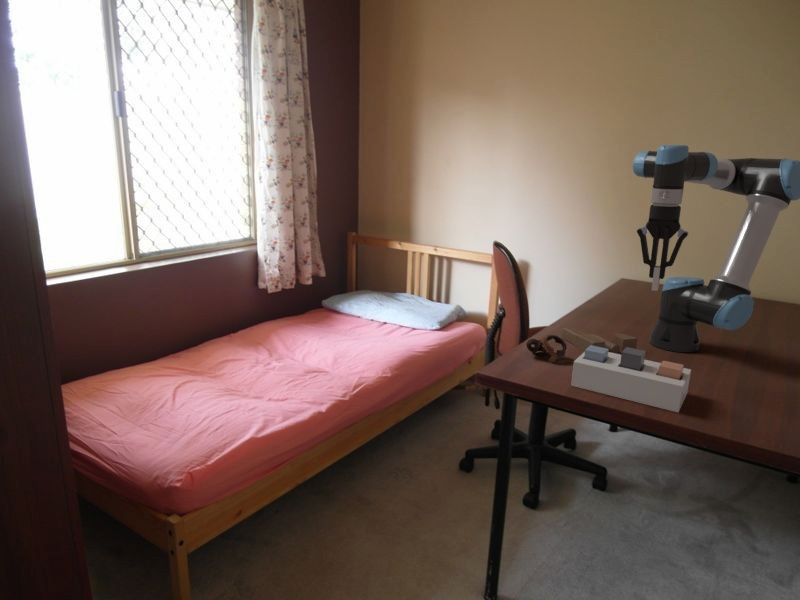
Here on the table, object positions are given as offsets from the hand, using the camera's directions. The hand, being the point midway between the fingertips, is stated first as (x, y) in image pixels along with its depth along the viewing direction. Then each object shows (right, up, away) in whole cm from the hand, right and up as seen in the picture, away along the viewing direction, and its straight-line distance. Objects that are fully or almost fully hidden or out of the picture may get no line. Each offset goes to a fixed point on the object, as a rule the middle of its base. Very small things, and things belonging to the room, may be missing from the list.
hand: (655, 289), depth 159 cm
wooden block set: (-5, -19, +31) cm, 36 cm away
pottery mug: (-26, -21, +18) cm, 38 cm away
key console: (-9, -27, -5) cm, 29 cm away
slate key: (-17, -21, -1) cm, 27 cm away
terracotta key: (-1, -25, -11) cm, 27 cm away
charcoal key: (-9, -21, -6) cm, 24 cm away
